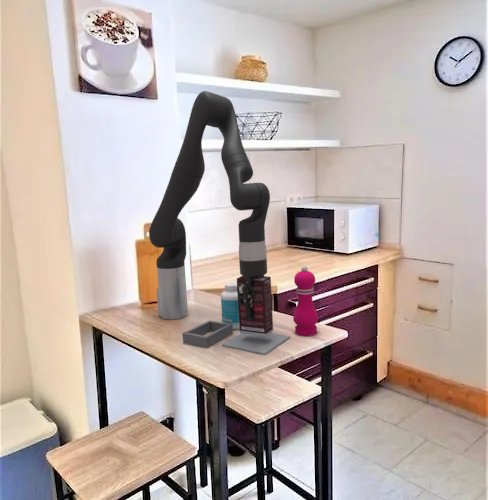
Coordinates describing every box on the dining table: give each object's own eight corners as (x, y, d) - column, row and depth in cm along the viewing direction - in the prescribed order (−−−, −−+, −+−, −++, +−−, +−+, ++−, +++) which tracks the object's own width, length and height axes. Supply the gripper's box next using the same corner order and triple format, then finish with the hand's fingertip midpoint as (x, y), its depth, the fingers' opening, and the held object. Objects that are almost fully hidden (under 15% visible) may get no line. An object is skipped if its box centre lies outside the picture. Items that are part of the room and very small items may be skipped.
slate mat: (221, 346, 129) (221, 344, 129) (249, 330, 141) (249, 328, 141) (264, 355, 122) (264, 353, 122) (290, 337, 133) (290, 336, 133)
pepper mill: (321, 335, 134) (320, 267, 131) (297, 337, 133) (295, 269, 129) (314, 327, 141) (312, 262, 138) (290, 329, 140) (288, 264, 136)
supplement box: (273, 331, 131) (271, 276, 128) (266, 337, 127) (264, 280, 124) (246, 327, 135) (244, 274, 132) (238, 333, 131) (235, 278, 128)
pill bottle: (243, 330, 141) (241, 287, 139) (219, 330, 142) (217, 287, 140) (248, 322, 148) (246, 281, 146) (225, 322, 150) (223, 281, 147)
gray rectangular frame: (183, 343, 133) (182, 333, 133) (210, 329, 143) (209, 320, 143) (206, 348, 128) (205, 337, 128) (232, 333, 139) (232, 324, 138)
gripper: (250, 263, 119) (253, 326, 122) (277, 253, 131) (280, 311, 134) (226, 261, 123) (229, 322, 126) (255, 251, 135) (257, 308, 138)
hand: (255, 316), depth 130 cm, fingers closed on supplement box, 5 cm apart
